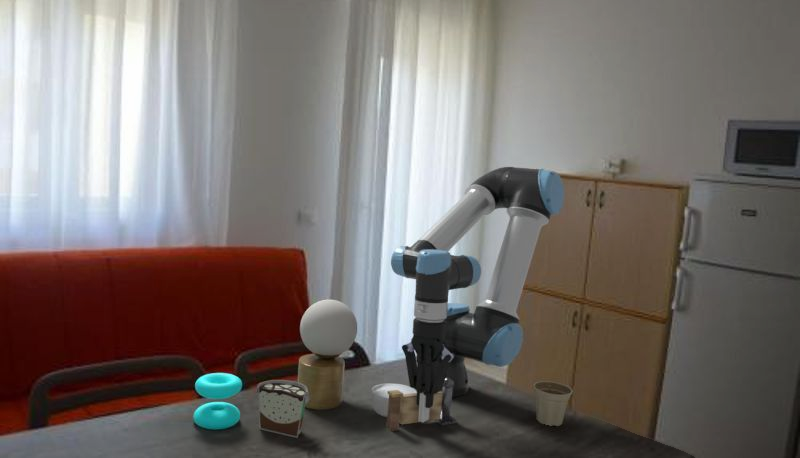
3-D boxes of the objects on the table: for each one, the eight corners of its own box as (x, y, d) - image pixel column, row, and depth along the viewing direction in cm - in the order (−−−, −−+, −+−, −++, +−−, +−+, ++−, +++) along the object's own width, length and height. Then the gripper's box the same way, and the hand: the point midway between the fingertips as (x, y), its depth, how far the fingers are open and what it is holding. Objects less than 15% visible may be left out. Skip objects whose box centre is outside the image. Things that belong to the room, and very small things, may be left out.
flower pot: (569, 432, 158) (573, 397, 157) (529, 425, 160) (533, 391, 159) (568, 417, 167) (571, 384, 166) (530, 412, 169) (533, 379, 168)
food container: (316, 429, 148) (319, 385, 147) (303, 439, 142) (306, 394, 141) (267, 418, 152) (270, 375, 151) (253, 427, 146) (256, 383, 145)
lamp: (312, 384, 176) (319, 291, 173) (361, 395, 171) (368, 299, 168) (282, 402, 162) (288, 301, 159) (334, 414, 157) (341, 310, 154)
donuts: (242, 386, 143) (194, 386, 140) (240, 431, 144) (191, 432, 141) (242, 371, 152) (196, 371, 150) (239, 413, 153) (194, 413, 151)
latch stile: (384, 427, 152) (387, 390, 151) (394, 425, 153) (397, 389, 152) (390, 431, 150) (393, 394, 149) (400, 430, 151) (403, 393, 150)
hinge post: (431, 418, 159) (435, 375, 158) (447, 416, 162) (450, 373, 160) (441, 425, 156) (445, 381, 154) (457, 423, 158) (461, 379, 157)
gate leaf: (437, 417, 158) (439, 390, 158) (440, 419, 157) (442, 392, 156) (398, 422, 153) (401, 394, 153) (401, 424, 152) (404, 396, 151)
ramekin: (377, 400, 169) (378, 380, 168) (419, 407, 166) (421, 387, 166) (363, 415, 158) (365, 394, 157) (409, 423, 155) (411, 401, 155)
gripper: (397, 316, 150) (391, 417, 152) (446, 326, 143) (439, 432, 145) (414, 311, 156) (408, 408, 158) (463, 320, 149) (456, 422, 152)
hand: (423, 420), depth 152 cm, fingers closed
